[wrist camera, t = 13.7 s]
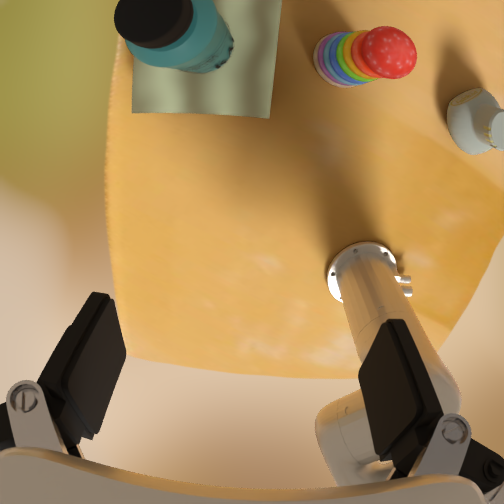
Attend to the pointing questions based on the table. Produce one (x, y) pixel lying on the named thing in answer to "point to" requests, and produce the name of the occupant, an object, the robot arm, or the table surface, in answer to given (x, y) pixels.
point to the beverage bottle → (175, 33)
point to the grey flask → (476, 122)
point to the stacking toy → (364, 56)
